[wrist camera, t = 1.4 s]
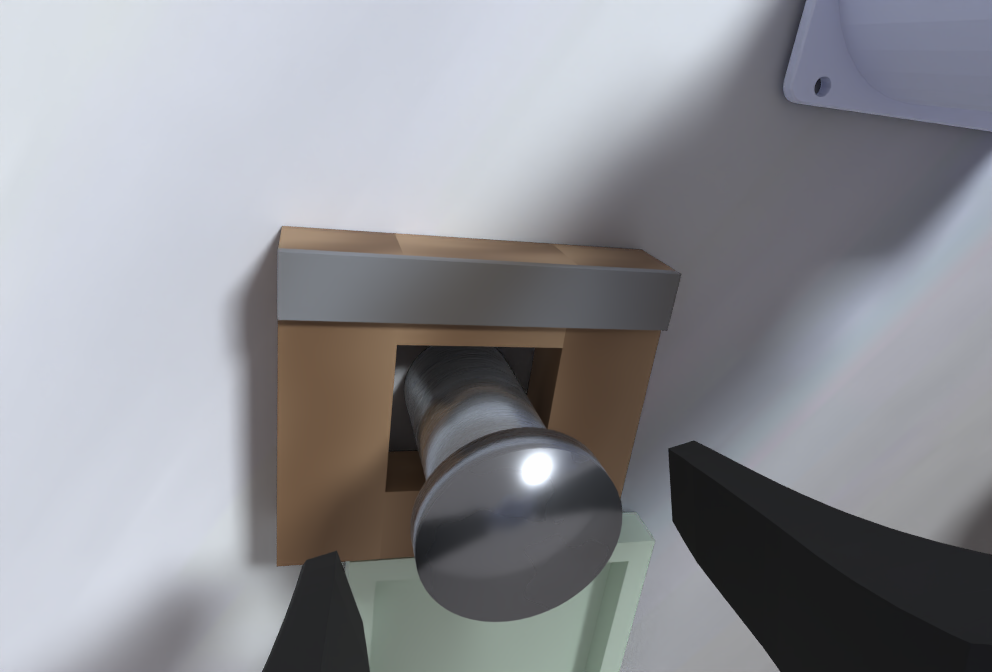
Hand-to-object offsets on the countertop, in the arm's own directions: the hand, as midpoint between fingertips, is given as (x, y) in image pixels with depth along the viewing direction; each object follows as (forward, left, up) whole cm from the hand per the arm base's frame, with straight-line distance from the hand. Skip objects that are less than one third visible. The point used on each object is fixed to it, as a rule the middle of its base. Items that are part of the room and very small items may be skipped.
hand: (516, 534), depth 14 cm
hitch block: (0, 0, -7) cm, 7 cm away
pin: (0, 0, -7) cm, 7 cm away
